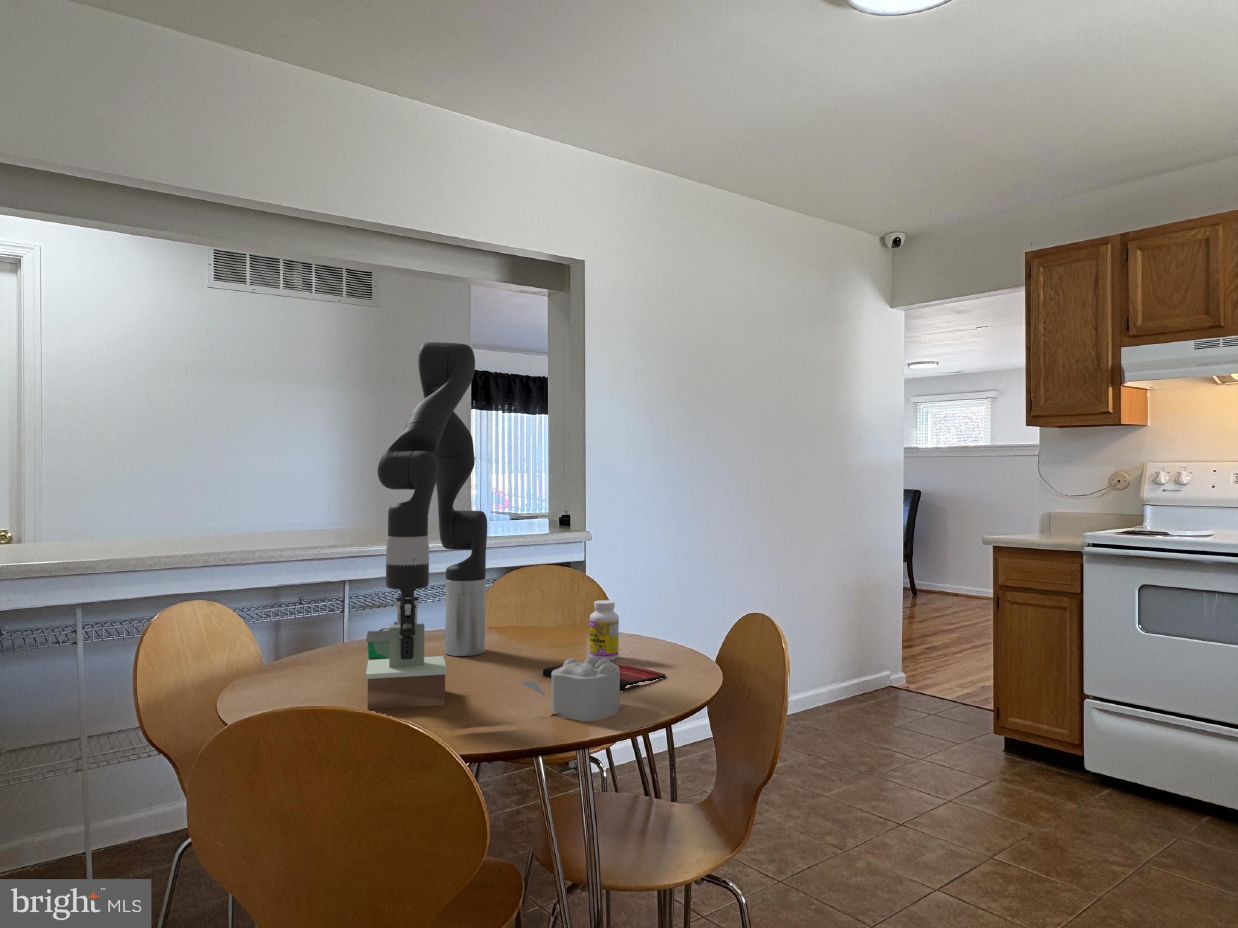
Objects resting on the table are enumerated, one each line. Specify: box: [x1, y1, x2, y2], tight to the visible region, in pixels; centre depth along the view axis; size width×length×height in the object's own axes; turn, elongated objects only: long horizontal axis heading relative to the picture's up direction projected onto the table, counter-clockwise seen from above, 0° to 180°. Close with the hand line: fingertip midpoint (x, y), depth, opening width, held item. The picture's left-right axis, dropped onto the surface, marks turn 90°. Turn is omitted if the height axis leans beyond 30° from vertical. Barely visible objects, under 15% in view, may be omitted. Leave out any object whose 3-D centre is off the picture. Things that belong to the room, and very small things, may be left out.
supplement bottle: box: [588, 599, 620, 660], centre depth 185 cm, size 7×7×13 cm
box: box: [367, 674, 446, 711], centre depth 146 cm, size 11×13×6 cm
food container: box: [365, 621, 398, 660], centre depth 168 cm, size 12×6×10 cm, turn 168°
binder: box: [542, 660, 666, 693], centre depth 167 cm, size 16×2×21 cm
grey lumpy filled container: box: [550, 656, 621, 723], centre depth 143 cm, size 10×13×9 cm
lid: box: [365, 623, 448, 680], centre depth 146 cm, size 12×14×9 cm
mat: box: [519, 680, 547, 697], centre depth 153 cm, size 14×14×1 cm
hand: (406, 655), depth 146 cm, fingers open, 5 cm apart
